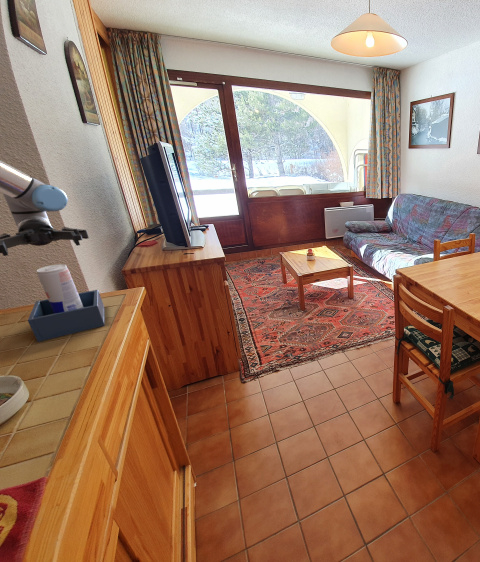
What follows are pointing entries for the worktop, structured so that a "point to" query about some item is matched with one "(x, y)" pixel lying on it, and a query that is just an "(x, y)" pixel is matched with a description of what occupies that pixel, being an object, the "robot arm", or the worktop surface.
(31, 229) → the robot arm
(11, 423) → the worktop surface
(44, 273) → the beverage can
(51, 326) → the tote
